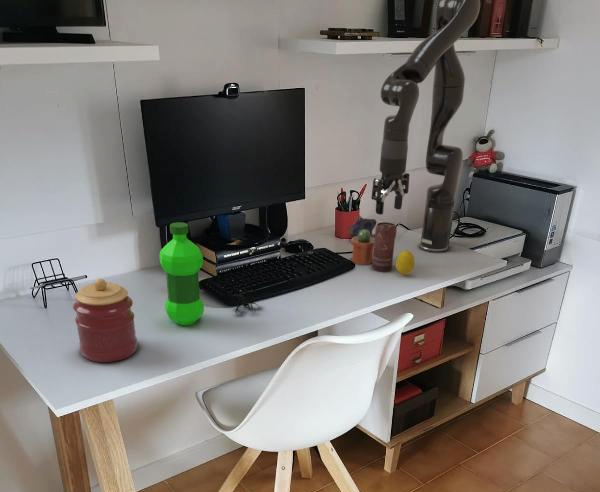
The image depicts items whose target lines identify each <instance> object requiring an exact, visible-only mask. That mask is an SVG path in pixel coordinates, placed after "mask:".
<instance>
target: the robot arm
mask: <svg viewBox="0 0 600 492" xmlns="http://www.w3.org/2000/svg"><path fill="white" fill-rule="evenodd" d="M480 9H481V0H437V2H436V7H435V32H434V33H432V34H431V35H429V36H428V37H426V38H425V39H424V40H423V41H421V42H420V43H419V44H418V45H417V46H416V47H415V48H414V50H412V53H410V56H409V57H408V58H407V59H406V61H405V62H404V63H403V64H401V65H400V66H399V67H398V68H397V69H396V70H394V71H393V72H391V73H390V74H389V75H388V76H387V78H386V79H385V80H384V81H383V83H382V85H381V88H380V99H381V101H382V102H383V104H385V105H387V106H391V107H398V111H397V113H396V114H391V115H388V116H386V117H385V119H384V124H383V135H382V143H381V148H380V161H379V172H380V173H381V176H380V178H376V177H375V178H373V180H372V181H373V182H372V188H371V189H372V190H371V197H370V198H371V200H372V201H375V214H376V215H383V214H384V209H385V207H384V206H385V200H386V198H387V196H390V193H392V192H394V194H395V196H394V205H393V208H394V210H401V209H402V206H403V198H404V196H405V195H408V193H409V187H410V173H409V172H406V169H407V161H408V151H409V133H410V124H411V121H412V118H413V115H414V113H415V109H416V107H417V104H418V101H419V96H420V89H419V85H418V84H421V83H422V82H424V81H425V79H427V77H428V75H430V73H431V71H432V70H433V68H434V74H433V84H432V97H431V98H432V99H431V100H432V103H431V114H430V115H431V118H430V127H429V135H428V141H427V147H426V155H425V169H426V171H427V172H428V173H429V174H431V175H436V176H440V177H441V176H442V177H444V178H443V181H442V182H441V183H438V184H432V185H430V186H428V187H427V191H426V197H425V205H424V213H423V221H422V228H421V235H420V236H421V237H420V243H419V247H420V248H421V249H422V250H424V251H428V252H434V253H440V252H446V251H448V248H449V247H450V241H451V234H452V227H453V215H454V214H453V213H454V206H455V201H456V200H455V199H456V193H457V190H458V187H459V183H460V182H459V181H460V177H461V171H462V166H463V161H464V152H463V150H462V148H461V147H458V146H453V145H447V144H444V143H443V142H444V136H445V132H446V129H447V127H448V126H449V123H450V122H451V120H452V119H453V118H454V116H455V115H456V114H457V112H458V110H460V107H461V106H462V104H463V102H464V101H463V100H464V94H465V84H466V83H465V82H466V77H465V76H466V75H465V72H464V69H463V66H462V63H461V61H460V58H459V56H458V54H457V51H456V48H455V43H456V42H457V41H458V40H459V39H460V38H461V37H462V36H463V35H464V34H465V33H466V32H468V30H469V29H470V28H471V27H472V26H473V25H474V24H475V22H476V20H477V19H478V17H479V13H480Z"/></svg>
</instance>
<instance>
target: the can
mask: <svg viewBox="0 0 600 492" xmlns="http://www.w3.org/2000/svg"><path fill="white" fill-rule="evenodd" d="M397 229H398V227H397V225H396V224H394V223H393V222H387V221H385V222H378V223H376V225H375V230H374V235H375V241H374V251H373V262H372V263H371V267H372V269H373V270H374V271H376V272H382V273H385V272H386V273H387V272H390V271H391V270H392V267H393V260H394V250H395V243H396V242H395V240H396V236H397V233H398V230H397Z"/></svg>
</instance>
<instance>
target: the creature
mask: <svg viewBox="0 0 600 492" xmlns="http://www.w3.org/2000/svg"><path fill="white" fill-rule="evenodd" d="M246 289H247V288H246V287H245V288H244V290H243V291H242V292H241V293H240V294H239V295H237V297H235V296H234V295H233V294H231V293H230V292H229V293H227V294H228V295H230V296H231V298H232V299H233V300H234V301H235V302H236V308H235V314H236V315H237V316H239V317H242V315H243V314H244V311H241V312H240V311H239V308H240V307H241V306H243V307H244V308H248V310H249V311H251V312H252V313H254V312H255V313H257V312H256V310H260V308H258V309H256V308H254V307H253V304H254V305H256V306H258V303H256V302H253V301H252V299H251V298H252V296H251V295H250V296H249V295H247V296H246V297H245V296H243V294H244V293H245V291H246ZM246 298H248V299H246ZM247 300H248V301H247ZM237 311H238V312H240V314H238V313H237Z"/></svg>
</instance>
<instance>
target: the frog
mask: <svg viewBox="0 0 600 492" xmlns="http://www.w3.org/2000/svg"><path fill="white" fill-rule="evenodd" d="M358 221H359V222H358ZM354 223H355V224H354ZM354 223H353V224H354V225H353V224H352V225H353V226H352V227H350V228H348V230H349V232H348V234H349V236H350V237H351V238H353V237H356V236H358V234H359V232H360V231H361V230H364V229H365V230H368V231H369V232H370V234H371V237H372V238H375V234H373V230H374V229H375V228H376V226H377V224H378V223H377V220H376V219H375V218H363V217H360V219H359V218H358V217H357V219H356V222H354Z"/></svg>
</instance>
